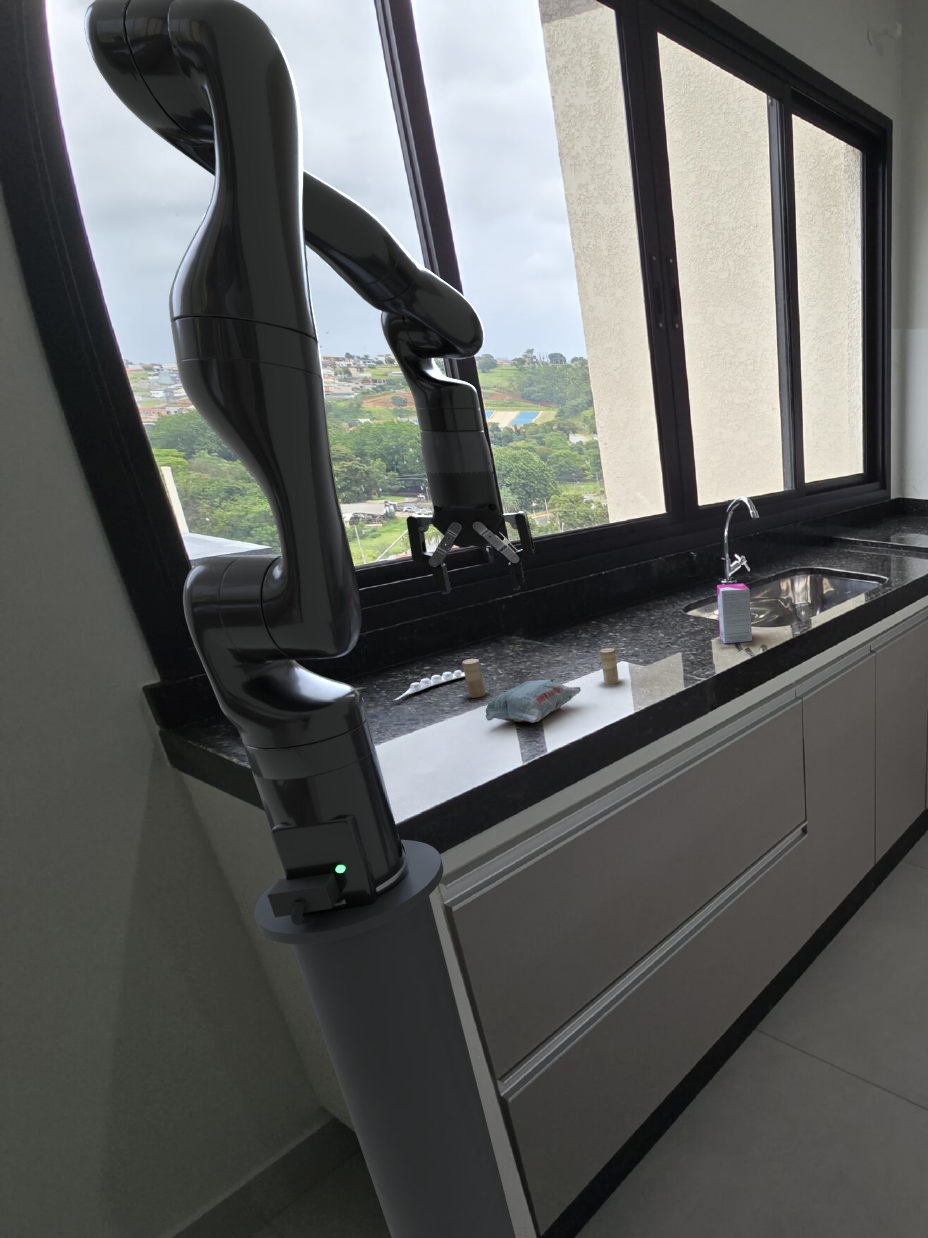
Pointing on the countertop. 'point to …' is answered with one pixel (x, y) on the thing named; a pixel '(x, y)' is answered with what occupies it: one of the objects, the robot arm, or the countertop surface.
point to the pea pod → (432, 682)
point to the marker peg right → (609, 666)
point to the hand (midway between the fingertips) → (482, 590)
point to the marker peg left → (473, 678)
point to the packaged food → (530, 701)
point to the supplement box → (734, 613)
